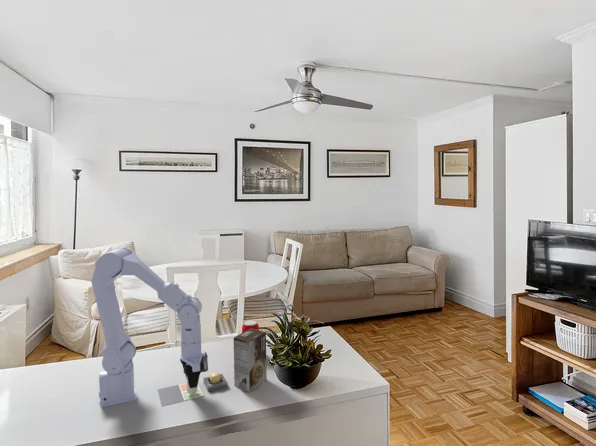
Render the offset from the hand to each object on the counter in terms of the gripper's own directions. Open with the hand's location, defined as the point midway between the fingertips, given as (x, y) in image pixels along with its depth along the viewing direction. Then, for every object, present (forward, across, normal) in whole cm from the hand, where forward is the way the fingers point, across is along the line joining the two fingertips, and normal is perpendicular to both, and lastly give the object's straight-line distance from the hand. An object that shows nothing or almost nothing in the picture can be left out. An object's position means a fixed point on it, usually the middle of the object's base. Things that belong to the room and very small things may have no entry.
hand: (192, 384), depth 115 cm
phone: (+4, +20, -5) cm, 21 cm away
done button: (+2, +2, -8) cm, 8 cm away
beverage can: (+4, +19, -25) cm, 32 cm away
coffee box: (+4, -1, -18) cm, 18 cm away
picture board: (+4, +2, +3) cm, 5 cm away
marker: (+2, 0, 0) cm, 2 cm away
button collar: (+4, +2, -8) cm, 9 cm away
